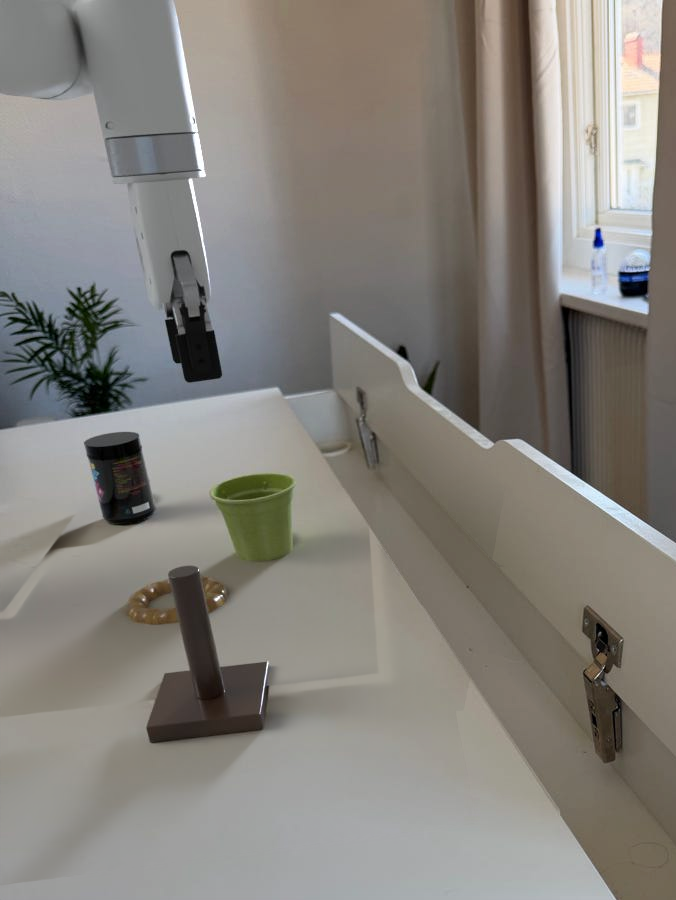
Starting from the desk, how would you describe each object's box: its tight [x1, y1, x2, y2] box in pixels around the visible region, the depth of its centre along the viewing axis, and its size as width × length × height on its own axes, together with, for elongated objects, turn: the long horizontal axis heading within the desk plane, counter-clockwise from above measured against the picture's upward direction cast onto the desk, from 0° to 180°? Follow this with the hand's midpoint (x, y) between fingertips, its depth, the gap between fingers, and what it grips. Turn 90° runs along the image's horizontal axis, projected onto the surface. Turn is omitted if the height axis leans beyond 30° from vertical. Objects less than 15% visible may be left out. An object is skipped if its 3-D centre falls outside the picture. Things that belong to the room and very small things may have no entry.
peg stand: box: [145, 565, 270, 743], centre depth 79 cm, size 9×9×12 cm
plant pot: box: [209, 472, 297, 563], centre depth 110 cm, size 9×9×9 cm
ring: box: [124, 576, 228, 626], centre depth 100 cm, size 10×10×2 cm
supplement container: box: [83, 431, 156, 525], centre depth 125 cm, size 7×7×10 cm
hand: (197, 370), depth 89 cm, fingers open, 9 cm apart
